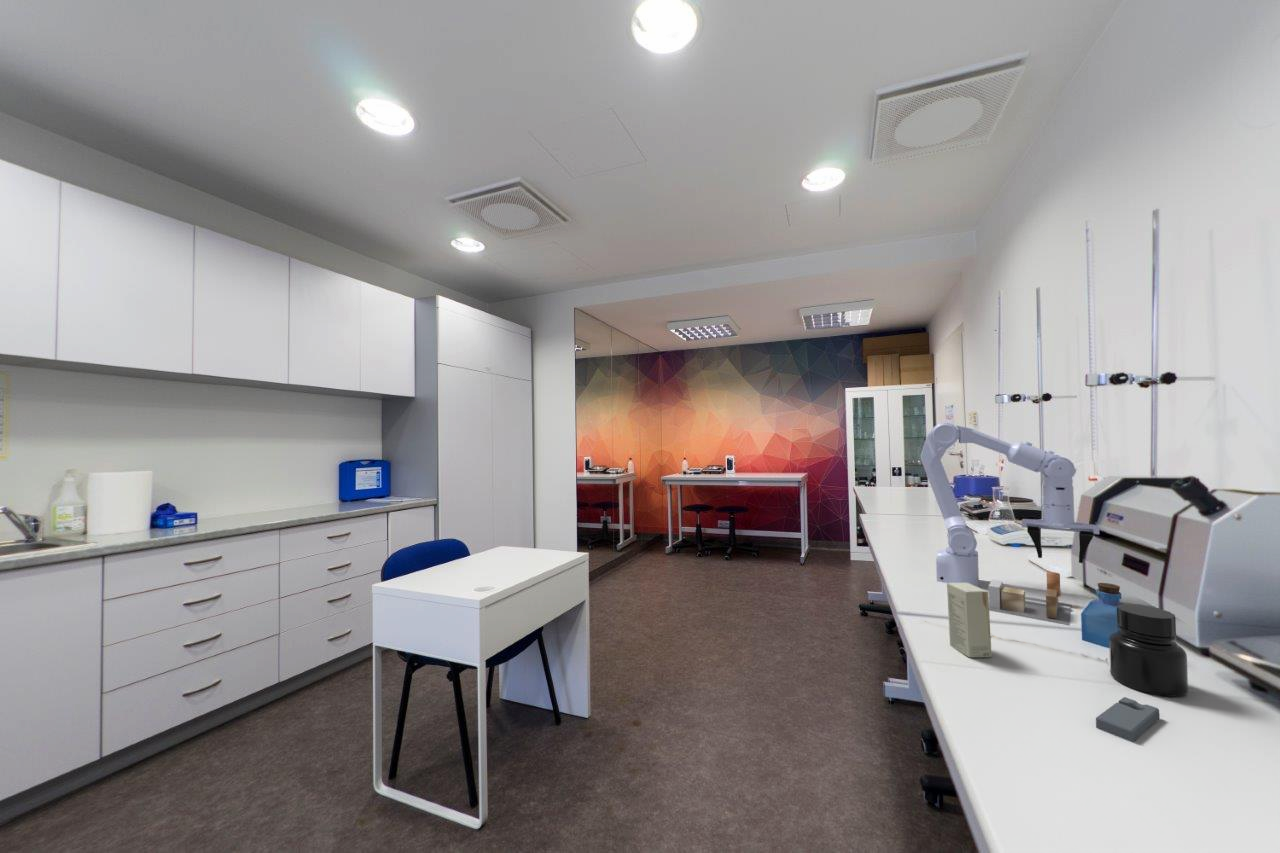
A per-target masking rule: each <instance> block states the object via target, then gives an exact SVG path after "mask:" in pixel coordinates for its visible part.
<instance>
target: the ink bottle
mask: <svg viewBox="0 0 1280 853" xmlns="http://www.w3.org/2000/svg"><path fill="white" fill-rule="evenodd" d="M1176 619H1177V618H1176V614H1174V613H1172V612H1170V611H1167V610H1164V609H1162V608H1158V607H1154V606H1150V605H1143V604H1135V603H1125V604H1120V605H1117V624H1118V625H1117V627H1118V628H1119V629H1120V630H1119V631H1117V632H1116V633H1114V634H1112V635H1111V636H1110V637H1109V648H1108V649H1109V650H1108V651H1109V673H1110V675H1111V677H1112V678H1114V679H1115V680H1116V681H1118V682H1119V683H1122V684H1123V685H1125V686H1127V687H1130V688H1132V689H1135V690H1137V691H1141V692H1143V693H1147V694H1152V695H1156V696H1157V695H1158V696H1163V697H1164V696H1165V697H1181V696H1185V695H1187V694H1188V692H1189V684H1188V683H1189V681H1188V680H1189V678H1188V676H1189V675H1188V655H1187V652H1186V651H1185V649H1184V648H1183V647H1182V646H1180V645H1179V644H1178V643H1177V642H1176V641H1175V640H1177V624H1176V622H1177V621H1176Z"/></svg>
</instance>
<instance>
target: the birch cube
mask: <svg viewBox="0 0 1280 853" xmlns="http://www.w3.org/2000/svg"><path fill="white" fill-rule="evenodd" d="M1025 597H1026V590H1025V589H1021V588H1014V587H1009V586H1003V588H1002V590H1001V604H1002V609H1007V610H1012V611H1018V612H1023V613H1024V610H1025Z"/></svg>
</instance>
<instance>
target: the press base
mask: <svg viewBox="0 0 1280 853" xmlns="http://www.w3.org/2000/svg"><path fill="white" fill-rule="evenodd" d="M1003 584H1004V582H1003V581H1002V580H997V579H992V580H991V581H990V583H989V584H988V597H989V612H996V613H1001V614H1005V615H1010V616H1017V617H1022V618H1028V619H1032V620H1037V621H1042V622H1043V621H1044V622H1049V623H1053V624H1058V625H1059V624H1060V625H1064V626H1069V627H1070V624H1071V612H1072V603H1065V602H1059V601H1058V607H1057V617H1056V618H1050V617H1047V614H1046V599H1042V598H1041V599H1040V598H1036V597H1031V596H1029V597H1028V596H1025V610H1024V613H1023V612H1018V611H1012V610H1007V609H1002V604H1001V590H1002V588H1003V587H1004V585H1003Z"/></svg>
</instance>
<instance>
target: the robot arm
mask: <svg viewBox="0 0 1280 853" xmlns="http://www.w3.org/2000/svg"><path fill="white" fill-rule="evenodd" d="M957 441H958V443H959V444H975V445H977V446H980V447H983V448H986V449H988V450H991V451H995V452H996V453H1000V454H1003V455H1005V456H1006V458H1007V461H1008V463H1012V464H1015V465H1016V466H1019V467H1021V468H1024V469H1026V470H1029V471H1032V472H1035V473H1041V474H1042V475H1043V485H1042V490H1043V491H1042V492H1043V493H1042V494H1043V519H1031V518H1030V519H1028V518H1022V519H1021V527H1022V528H1025V529H1026V531H1027V533H1028V535H1029V537H1030V538H1031V541H1032V543H1033V545H1034V547H1035V550H1036V553H1037V558H1039V559H1042V558H1043V549H1042V536H1041V534H1042V529H1043V530H1050V531H1051V530H1054V531H1063V532H1073V533H1075V532H1076V533H1078V538H1079V540H1078V541H1079V542H1078V544H1079V553H1078V563H1079V564H1083V563H1084V557H1085V554H1086V551H1087V548H1088V547H1089V545H1090V544H1091V541H1092V540H1093V537H1094V535H1100V524H1089V523H1084V522H1083V523H1082V522H1075V504H1074V503H1075V499H1074V498H1075V496H1074V486H1073V482H1074V481H1073V477H1075V475H1076V472H1077V468H1075V465H1074V463H1073V462H1072V461H1071V460H1070V459H1069V458H1066V457H1063V456H1060V455H1058V454H1055V452H1054V451H1052V450H1047V451H1046V450H1044V449H1041V448H1038V447H1036V446H1033V443H1032V442H1029V441H1025V442H1022V441H1018V442H1015V443H1009V442H1007V441H1005V440H1001V439H999V438H997V437H995V436H992V435H989V434H986V433H984V432H982V431H980V430H976V429H973V428H971V427H966V426H962V425H954V424H953V423H950V422H941V423H938V424H936V425H935V426H933V428H931V430H930V431H929V433H927V436H926V439H925V442H924V445H923V447H922V451H921V453H920V460H921V463H922V466H923V469H924V471H925V474H926V476H927V480H928V481H929V484H930V486H931V488H932V492H933V494H934V498H935V499H936V503H937V505H938V508H939V510H940V513H941V516H942V518H943V520H944V521H943V522H944V524H945V527H946V530H947V533H946V534H947V536H946V537H947V543H948V547H946V548H945V550H944V549H943V550H941V549H940V550H939V549H938V550H937V552H936V560H935V561H936V562H935V563H936V565H935V567H936V571H935V572H936V582H939V583H940V582H941V583H945V584H947V583H970V584H972V585H974V586H977V587H979V584H980V582H979V581H980V580H979V579H980V577H979V575H980V574H979V573H980V572H979V552H978V551H977V549H976V548H977V547H978V546H977V545H978V542H977V539H976V537H975V533H974V531H973V530H972V529H971V528H970V527H969V526H968V525H967V523H966V521H965V519H964V516H963V514H962V512H961V509H960V507H959V503H958V501H957V498H956V496H955V493H954V491H953V489H952V485H951V482H950V481H949V478H948V476H947V473H946V470H945V468H944V465H943V463H942V460H941V459H942V458H943V457H944V455H945V454H946V452H947V450H948V449H949V448H951V447H952V446H953V445H954V444H955V443H956V442H957Z"/></svg>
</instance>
